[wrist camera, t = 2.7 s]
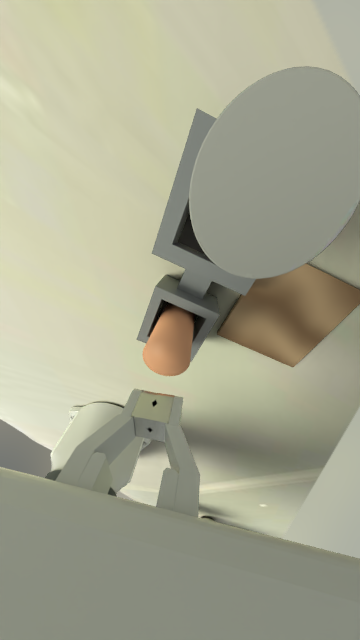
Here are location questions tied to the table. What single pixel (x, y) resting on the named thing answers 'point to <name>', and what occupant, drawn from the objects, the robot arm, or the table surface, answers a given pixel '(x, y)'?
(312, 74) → the container
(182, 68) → the table surface
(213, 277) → the housing
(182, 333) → the peach cylinder
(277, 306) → the pad
